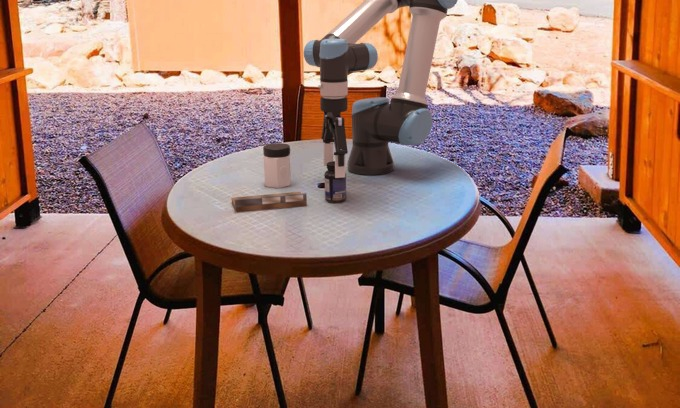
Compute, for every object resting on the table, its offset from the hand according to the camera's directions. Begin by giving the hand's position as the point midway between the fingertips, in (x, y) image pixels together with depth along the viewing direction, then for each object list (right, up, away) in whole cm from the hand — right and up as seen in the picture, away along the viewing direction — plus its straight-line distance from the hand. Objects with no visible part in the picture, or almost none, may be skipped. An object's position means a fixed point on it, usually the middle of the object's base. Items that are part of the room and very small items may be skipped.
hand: (334, 171), depth 221 cm
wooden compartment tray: (-19, -9, 0) cm, 21 cm away
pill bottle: (0, -8, +3) cm, 9 cm away
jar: (-17, -3, +19) cm, 26 cm away
